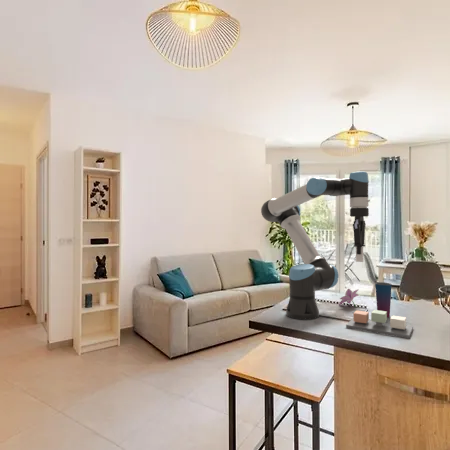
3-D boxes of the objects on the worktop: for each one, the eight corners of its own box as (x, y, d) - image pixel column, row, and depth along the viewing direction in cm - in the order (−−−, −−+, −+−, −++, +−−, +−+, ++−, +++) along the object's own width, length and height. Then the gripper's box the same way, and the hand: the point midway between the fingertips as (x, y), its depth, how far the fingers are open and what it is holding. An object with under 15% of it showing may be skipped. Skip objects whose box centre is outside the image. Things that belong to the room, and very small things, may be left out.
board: (346, 327, 136) (346, 319, 136) (354, 319, 147) (353, 312, 147) (409, 338, 123) (409, 329, 123) (413, 328, 133) (412, 320, 133)
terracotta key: (353, 321, 138) (353, 313, 138) (356, 318, 142) (356, 310, 142) (366, 323, 135) (366, 315, 135) (368, 320, 139) (368, 312, 139)
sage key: (371, 321, 134) (371, 312, 134) (373, 318, 138) (373, 309, 138) (384, 323, 131) (384, 314, 131) (386, 319, 135) (386, 311, 135)
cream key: (390, 327, 130) (390, 318, 130) (392, 323, 134) (392, 315, 134) (404, 329, 127) (404, 320, 127) (406, 325, 131) (406, 317, 131)
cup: (393, 318, 147) (393, 285, 147) (377, 318, 149) (377, 285, 148) (389, 314, 154) (389, 282, 154) (373, 313, 155) (373, 282, 155)
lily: (363, 306, 172) (354, 289, 176) (368, 303, 161) (359, 284, 165) (341, 313, 172) (333, 296, 176) (345, 310, 161) (337, 292, 165)
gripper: (364, 206, 135) (365, 263, 136) (371, 207, 146) (372, 260, 146) (346, 207, 140) (346, 262, 140) (354, 208, 150) (354, 259, 151)
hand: (359, 261), depth 143 cm, fingers closed
